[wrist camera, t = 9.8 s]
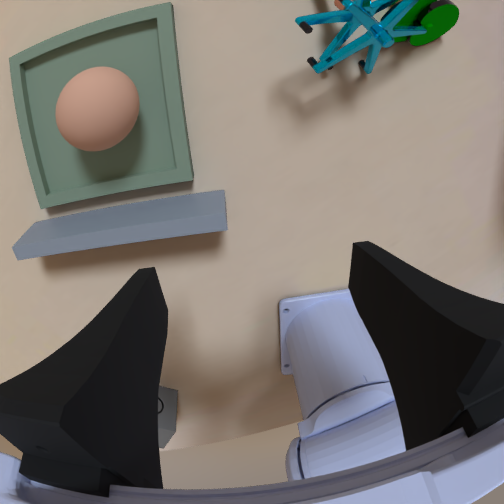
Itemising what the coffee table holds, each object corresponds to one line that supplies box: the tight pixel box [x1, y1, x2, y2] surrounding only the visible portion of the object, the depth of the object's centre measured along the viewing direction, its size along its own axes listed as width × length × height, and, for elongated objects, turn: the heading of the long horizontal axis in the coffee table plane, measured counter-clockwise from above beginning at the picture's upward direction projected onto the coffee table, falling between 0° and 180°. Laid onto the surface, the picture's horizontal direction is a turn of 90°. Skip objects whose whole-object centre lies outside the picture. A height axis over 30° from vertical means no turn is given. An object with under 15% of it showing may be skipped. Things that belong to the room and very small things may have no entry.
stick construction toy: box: [295, 0, 459, 74], centre depth 12 cm, size 12×7×8 cm
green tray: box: [9, 2, 194, 209], centre depth 15 cm, size 11×11×1 cm
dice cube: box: [158, 386, 178, 449], centre depth 28 cm, size 5×5×5 cm
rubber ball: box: [55, 66, 140, 151], centre depth 13 cm, size 4×4×4 cm
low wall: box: [12, 190, 228, 260], centre depth 18 cm, size 1×14×4 cm, turn 95°
